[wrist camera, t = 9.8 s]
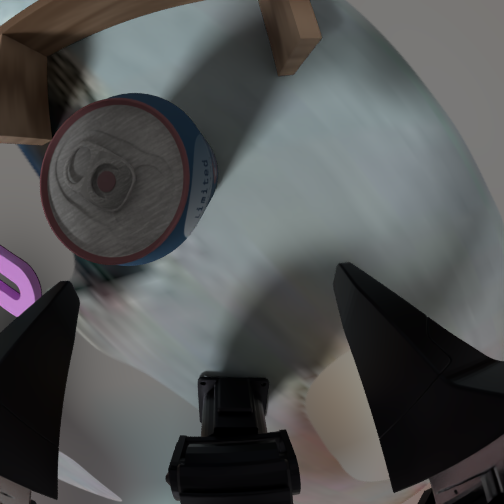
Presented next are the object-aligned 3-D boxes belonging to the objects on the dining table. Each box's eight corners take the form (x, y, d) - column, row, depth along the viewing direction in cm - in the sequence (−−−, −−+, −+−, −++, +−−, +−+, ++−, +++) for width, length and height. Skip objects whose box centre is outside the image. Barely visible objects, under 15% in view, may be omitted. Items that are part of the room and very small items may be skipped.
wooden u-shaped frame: (293, 74, 19) (322, 38, 12) (41, 145, 18) (-13, 143, 11) (267, -16, 16) (281, -66, 9) (37, 54, 15) (-8, 32, 9)
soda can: (237, 157, 20) (250, 139, 9) (187, 239, 21) (148, 316, 10) (155, 112, 19) (82, 56, 7) (110, 194, 20) (8, 223, 8)
